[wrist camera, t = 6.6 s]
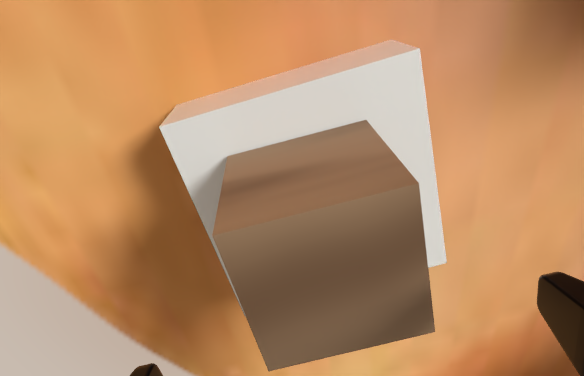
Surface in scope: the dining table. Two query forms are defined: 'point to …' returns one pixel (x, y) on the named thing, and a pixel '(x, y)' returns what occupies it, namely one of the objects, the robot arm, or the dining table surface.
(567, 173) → the dining table surface
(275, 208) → the walnut cube
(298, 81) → the block
